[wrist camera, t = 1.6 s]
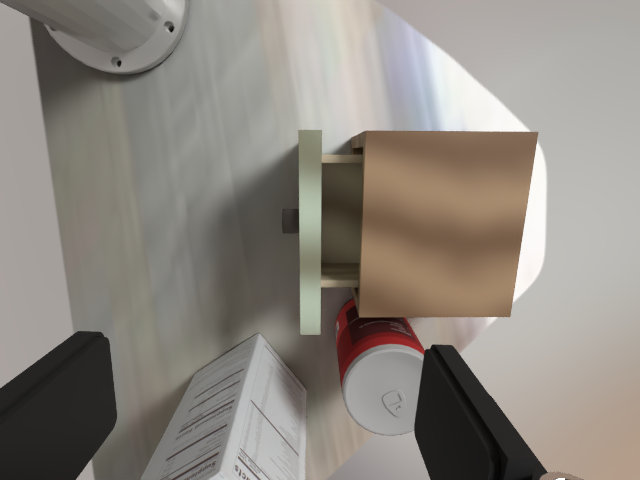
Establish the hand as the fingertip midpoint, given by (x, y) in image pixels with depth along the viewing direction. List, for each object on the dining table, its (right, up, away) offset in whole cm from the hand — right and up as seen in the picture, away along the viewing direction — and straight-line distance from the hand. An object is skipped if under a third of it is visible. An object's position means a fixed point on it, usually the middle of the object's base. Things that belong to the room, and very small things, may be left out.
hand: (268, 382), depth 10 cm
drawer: (+5, +7, +23) cm, 25 cm away
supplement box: (-6, -12, +28) cm, 31 cm away
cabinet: (+10, +7, +24) cm, 27 cm away
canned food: (+7, -5, +27) cm, 28 cm away
